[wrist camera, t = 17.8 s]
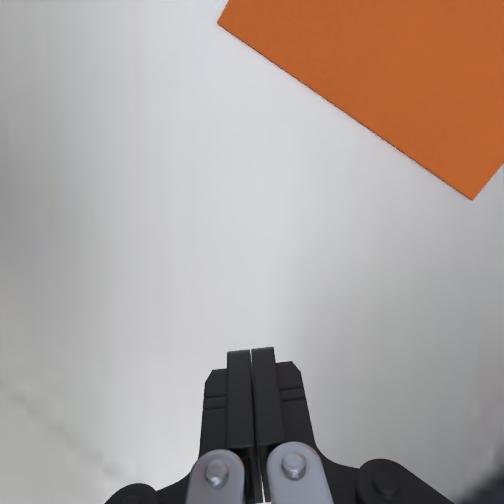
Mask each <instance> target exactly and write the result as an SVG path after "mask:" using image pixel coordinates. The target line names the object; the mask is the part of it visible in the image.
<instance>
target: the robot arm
mask: <svg viewBox="0 0 504 504" xmlns="http://www.w3.org/2000/svg"><path fill="white" fill-rule="evenodd" d="M251 352H252V361H251V354H250V349H249V350H239V351H230V352H227V368H226V369H217V370H212V372H211V373H210V375H209V377H208V379H207V380H206V382H205V389H204V401H203V413H202V426H201V438H200V450H199V457H198V460H197V461H196V462H195V464H194V465H193V467H192V469H191V472H190V473H189V474H188V475H187V476H185V477H184V478H183V479H181V480H180V481H178V482H176V483H174V484H172V485H170V486H168V487H165V488H163V489H161V490H158V491H155V490H154V489H153V488H152V487H151V486H149V485H146V484H142V483H136V484H131V485H128V486H125V487H123V488H122V489H120V490H119V491H117V492H116V493H115V494H114V495H112V496H111V497H110V498H109V500H108V501H107V502H106V503H105V504H256V503H263V494H262V482H263V489H264V496H265V502H271V504H454V503H453V502H451V501H450V500H448V499H447V498H446V497H444V496H443V495H442V494H440V493H439V492H437V491H436V490H435V489H433V488H432V487H430V486H429V485H428V484H426V483H425V482H424V481H422V480H421V479H419V478H418V477H417V476H415V475H414V474H413V473H411V472H410V471H408V470H407V469H406V468H404V467H403V466H401V465H400V464H398V463H396V462H394V461H391V460H387V459H373V460H370V461H368V462H366V463H364V464H363V465H362V466H361V467H360V469H358V468H353V467H348V466H343V465H340V464H337V463H334V462H332V461H330V460H329V459H327V458H326V457H325V456H324V455H323V454H322V453H321V452H320V451H319V449H318V448H317V446H316V444H315V440H314V435H313V431H312V426H311V421H310V416H309V411H308V406H307V401H306V396H305V391H304V387H303V382H302V377H301V372H300V371H299V370H298V368H297V367H296V366H295V365H294V363H293V362H292V361H289V362H280V363H276V362H275V355H274V347H266V348H257V349H251ZM261 475H262V479H261Z"/></svg>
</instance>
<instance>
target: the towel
mask: <svg viewBox="0 0 504 504" xmlns="http://www.w3.org/2000/svg"><path fill="white" fill-rule="evenodd" d="M217 23H218V24H219V25H220V26H222V27H223V28H224V29H226V30H227V31H229V32H230V33H232V34H233V35H235V36H236V37H237V38H239V39H240V40H242V41H243V42H245V43H246V44H248V45H249V46H250V47H252V48H253V49H255V50H256V51H258V52H259V53H260V54H262V55H263V56H265V57H266V58H268V59H269V60H271V61H272V62H273V63H275V64H276V65H278V66H279V67H281V68H282V69H284V70H285V71H286V72H288V73H289V74H291V75H292V76H294V77H295V78H296V79H298V80H299V81H301V82H302V83H304V84H305V85H307V86H308V87H309V88H311V89H312V90H314V91H315V92H317V93H318V94H320V95H321V96H322V97H324V98H325V99H327V100H328V101H330V102H331V103H332V104H334V105H335V106H337V107H338V108H340V109H341V110H343V111H344V112H345V113H347V114H348V115H350V116H351V117H353V118H354V119H356V120H357V121H358V122H360V123H361V124H363V125H364V126H366V127H367V128H368V129H370V130H371V131H373V132H374V133H376V134H377V135H379V136H380V137H381V138H383V139H384V140H386V141H387V142H389V143H390V144H392V145H393V146H394V147H396V148H397V149H399V150H400V151H402V152H403V153H404V154H406V155H407V156H409V157H410V158H412V159H413V160H415V161H416V162H417V163H419V164H420V165H422V166H423V167H425V168H426V169H428V170H429V171H430V172H432V173H433V174H435V175H436V176H438V177H439V178H440V179H442V180H443V181H445V182H446V183H448V184H449V185H451V186H452V187H453V188H455V189H456V190H458V191H459V192H461V193H462V194H464V195H465V196H466V197H468V198H469V199H471V200H473V199H474V198H475V197H476V196H477V194H478V193H479V192H480V191H481V190H482V188H483V187H484V186H485V185H486V184H487V182H488V181H489V180H490V179H491V178H492V176H493V175H494V174H495V173H496V171H497V170H498V169H499V168H500V167H501V165H502V164H503V163H504V0H229V2H228V3H227V5H226V7H225V9H224V11H223V13H222V14H221V16H220V18H219V20H218V22H217Z"/></svg>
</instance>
